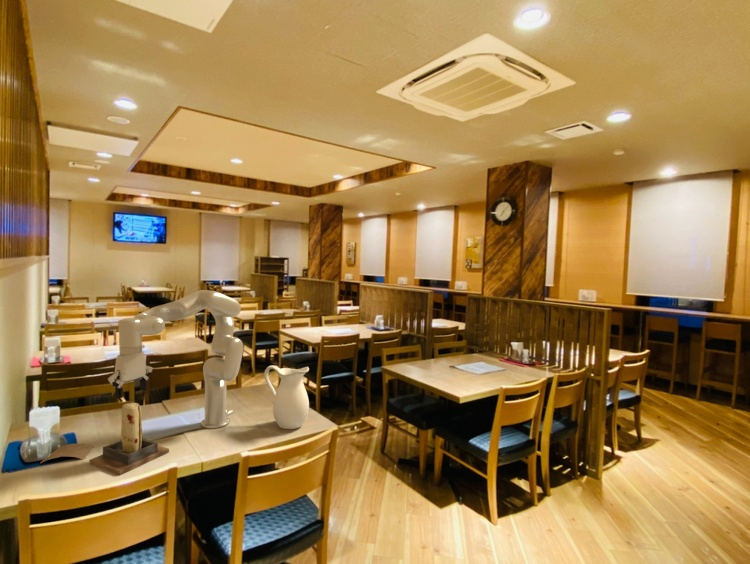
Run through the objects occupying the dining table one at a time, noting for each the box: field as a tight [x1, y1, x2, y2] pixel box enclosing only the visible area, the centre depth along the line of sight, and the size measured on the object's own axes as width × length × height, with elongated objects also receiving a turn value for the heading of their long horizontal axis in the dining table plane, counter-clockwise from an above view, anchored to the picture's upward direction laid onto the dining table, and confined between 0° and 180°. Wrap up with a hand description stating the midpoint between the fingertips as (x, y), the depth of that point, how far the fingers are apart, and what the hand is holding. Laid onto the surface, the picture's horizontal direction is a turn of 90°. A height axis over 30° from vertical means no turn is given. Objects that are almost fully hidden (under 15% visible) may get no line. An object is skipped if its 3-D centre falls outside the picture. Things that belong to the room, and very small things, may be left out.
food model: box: [120, 402, 143, 454], centre depth 158 cm, size 10×7×20 cm
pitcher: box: [263, 365, 310, 430], centre depth 195 cm, size 24×17×28 cm
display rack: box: [88, 438, 170, 476], centre depth 158 cm, size 20×18×5 cm
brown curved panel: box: [40, 442, 95, 464], centre depth 158 cm, size 16×11×3 cm
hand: (131, 393), depth 157 cm, fingers open, 9 cm apart
